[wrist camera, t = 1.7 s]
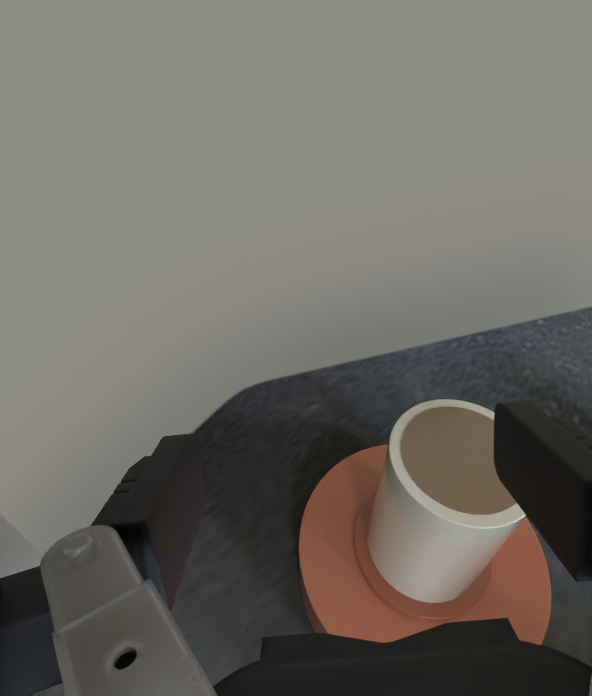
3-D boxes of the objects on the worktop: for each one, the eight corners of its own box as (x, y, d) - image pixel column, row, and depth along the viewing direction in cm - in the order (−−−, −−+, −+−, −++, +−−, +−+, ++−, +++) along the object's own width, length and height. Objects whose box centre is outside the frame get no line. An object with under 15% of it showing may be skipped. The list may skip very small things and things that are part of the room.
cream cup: (353, 575, 24) (373, 494, 17) (381, 478, 28) (405, 383, 21) (473, 623, 22) (543, 553, 16) (483, 512, 26) (542, 421, 20)
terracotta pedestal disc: (262, 642, 25) (257, 622, 22) (337, 446, 34) (341, 413, 31) (525, 768, 21) (561, 762, 18) (529, 509, 30) (553, 478, 28)
